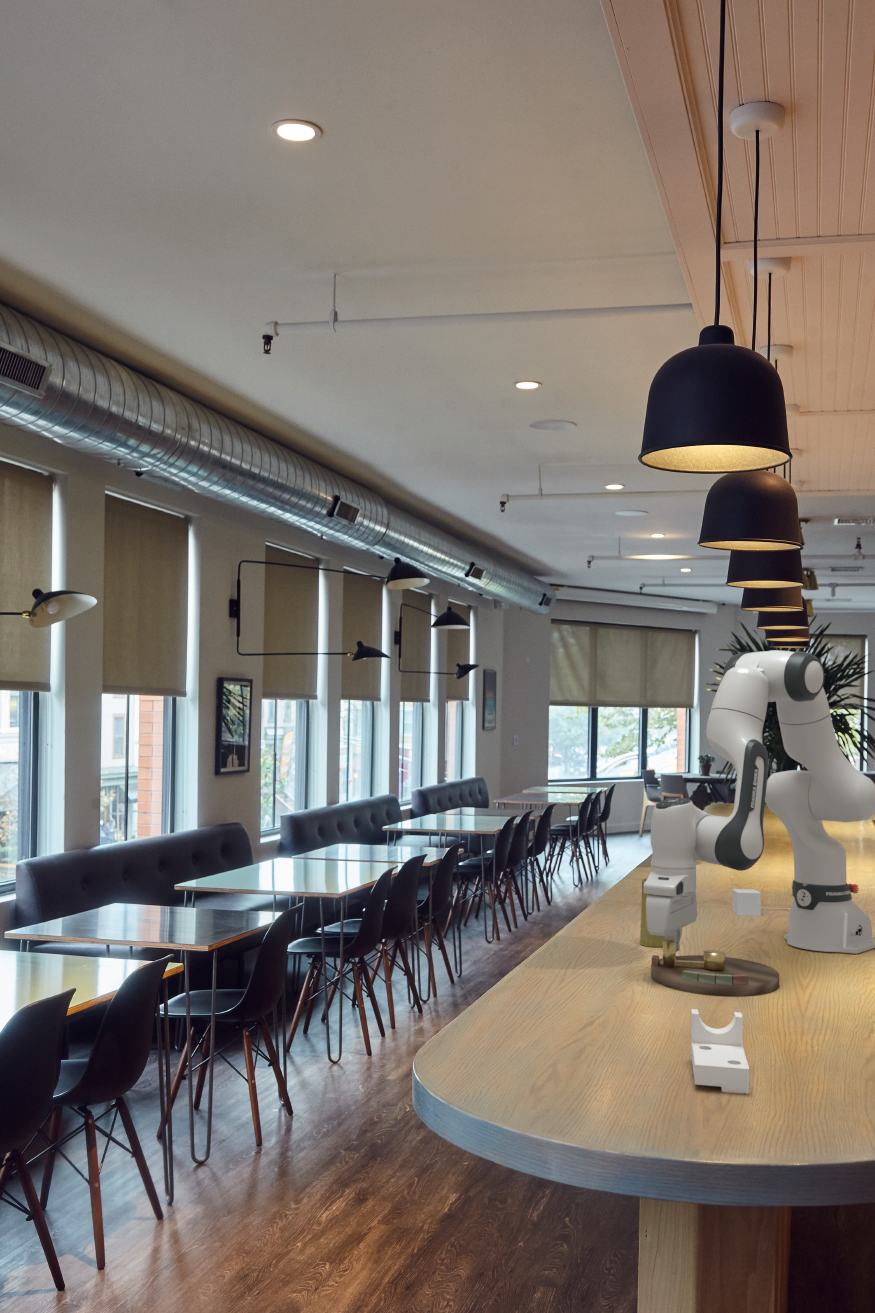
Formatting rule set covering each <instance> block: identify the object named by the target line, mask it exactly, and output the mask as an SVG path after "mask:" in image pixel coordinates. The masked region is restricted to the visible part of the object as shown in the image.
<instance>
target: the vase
mask: <svg viewBox="0 0 875 1313" xmlns="http://www.w3.org/2000/svg"><path fill="white" fill-rule="evenodd" d="M647 879H648V877H647V878H642V879H641V907H640V908H641V909H640V910H641V911H640V912H641V913H640V914H641V915H640V931H639V932H640V935H639V944H640V945H641V946H643V947H648V948H663V941H666V939H665V936H656V935H650V934H649V932H648V929H647V922H646V898H647V895H648V894H645V893H644V883H645V881H646V880H647Z"/></svg>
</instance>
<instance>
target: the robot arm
mask: <svg viewBox="0 0 875 1313" xmlns="http://www.w3.org/2000/svg"><path fill="white" fill-rule="evenodd" d="M824 684H825V669H824V666H823V664H822V662H821V661H820V660H819V658H818V657H817V656H816V655H815V654H812V653H809V652H805V651H800V650H799V651H798V650H797V651H789V650H780V649H779V650H778V649H776V650H774V649H771V650H767V651H766V650H765V651H764V650H763V651H752V652H750V651H743V652H739V653H736V654H733V655H732V656H730V658H729V659H728V660H727V662H726V664H725V665H724V669H723V672H722V679H721V681H720V684H718V685H719V686H718V688H717V690H716V693H715V695H714V698H713V701H712V704H711V708H710V710H709V711H710V712H709V714H708V719H707V722H706V729H705V730H706V734H705V735H706V736H705V737H706V739H707V742H708V744H709V745H710V747H711V749H712V750H713V751H714V752H715V753H716V754H717V755H719V756H720V757H722V758H724V760H727V762H729V763H731V764H732V766H733V768H734V769H735V771H736V785H735V794H734V801H733V802H734V803H733V810H732V813H731V814H730V815H729V816H720V815H715V814H710V813H708V812H706V811H704V810H702V809H700V808H699V807H697V806H696V805H695V804H694V802H693V800H692V799H689V798H685V797H675V798H673V797H672V798H665V799H663V800H660V801H658V802H656V804H655V805H654V808H653V810H652V814H651V815H652V816H651V820H650V821H651V822H650V824H651V825H650V846H651V849H652V856H651V861H650V872H649V875H648V877H647V878H648V879H647V880H646V881H645V883H644V893H645V894H648V895H647V898H646V922H647V929H648V932H649V934H650V935H656V936H665V939H666V941H674V942H676V953H677V952H678V951H679V950H680V947H681V946H680V945H681V944H680V942H681V938H682V934H683V928H685V927H686V926H688V925H691V924H692V923H694V922H696V920H697V917H698V907H697V906H698V905H697V904H698V903H697V901H698V900H697V892H696V891H697V864H696V861H699V862H704V863H708V864H710V865H711V864H712V865H718V866H723V867H725V868H729V869H732V870H735V871H739V872H740V871H741V872H742V871H743V872H744V871H746V870H748V869H751V868H753V866H754V865H756V864H757V863H758V861H759V860H760V859H761V857H762V855H763V852H764V849H765V835H764V816H765V815H764V814H765V805H766V806H767V808H768V810H769V811H770V812H771V813H773V814H774V815H775V816H776V817H777V818H778V819H779V821H781V822H782V825H783V826H784V828H785V830H786V831H787V833H788V836H789V839H790V841H791V844H792V845H791V846H792V853H793V867H794V868H793V869H794V871H793V872H794V879H793V880H792V882H791V883H792V884H791V885H792V886H791V890H792V891H791V892H792V893H791V895H792V897H793V901H792V902H791V903H790V906H789V912H788V913H789V914H788V923H787V924H788V928H787V933H784V940H785V941H786V943H787V944H788V945H789V946H792V947H795V948H798V949H802V950H803V949H804V950H809V951H816V952H826V953H843V954H844V953H845V954H860V953H863V952H867V951H870V950H873V949H875V937H874V936H873V930H872V920H871V918H870V916H869V915H867V913H865V912H864V911H863V910H862V908H860V907H859V906H858V905H857V904H856V902H854V901H853V900H852V899H853V898H852V897H853V895H852V893H853V894H858V892H859V889H860V888H859V885H858V884H856V883H855V884H852V883H847V852H846V849H845V848H844V846H843V844H842V843H841V842H840V841H838V839H837V838H833V837H832V836H830V834H829V833H828V832H827V831H826V829H825V828H824V824H823V821H826V822H827V821H828V822H837V823H838V822H840V823H854V822H861V821H868V820H869V819H871V818H872V817H873V816H874V814H875V782H874V781H873V780H872V779H871V778H870V777H868V776H866V775H865V774H863V773H862V772H860V770H858V769H857V768H856V767H854V765H853V764H852V763H851V762H850V761H849V760H848V758H846V756H845V755H844V753H843V751H842V749H841V748H840V747H841V746H840V745H839V742H838V741H837V736H836V734H835V730H834V729H835V728H834V724H833V721H832V720H833V719H832V715H831V710H830V705H829V701H828V698H827V694H826V691H825V689H824ZM774 702H775V705H776V712H777V713H776V714H777V719H778V724H779V728H780V734H781V739H782V744H783V748H784V751H785V752H786V754H787V755H788V756H789V757H790V758H791V759H793V760H794V761H796V762H798V763H800V764H801V765H802V766H803V767H804V768H806V769H807V770H801V769H800V770H799V769H798V770H797V769H796V770H795V769H792V770H791V769H790V770H785V771H779V772H774V773H772V774H771V775H770V776H769V777H768V774H769V753H768V750H767V748H766V746H765V745H764V744H763V731H764V730H763V729H764V724H765V720H766V717H767V710H768V703H774Z"/></svg>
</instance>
